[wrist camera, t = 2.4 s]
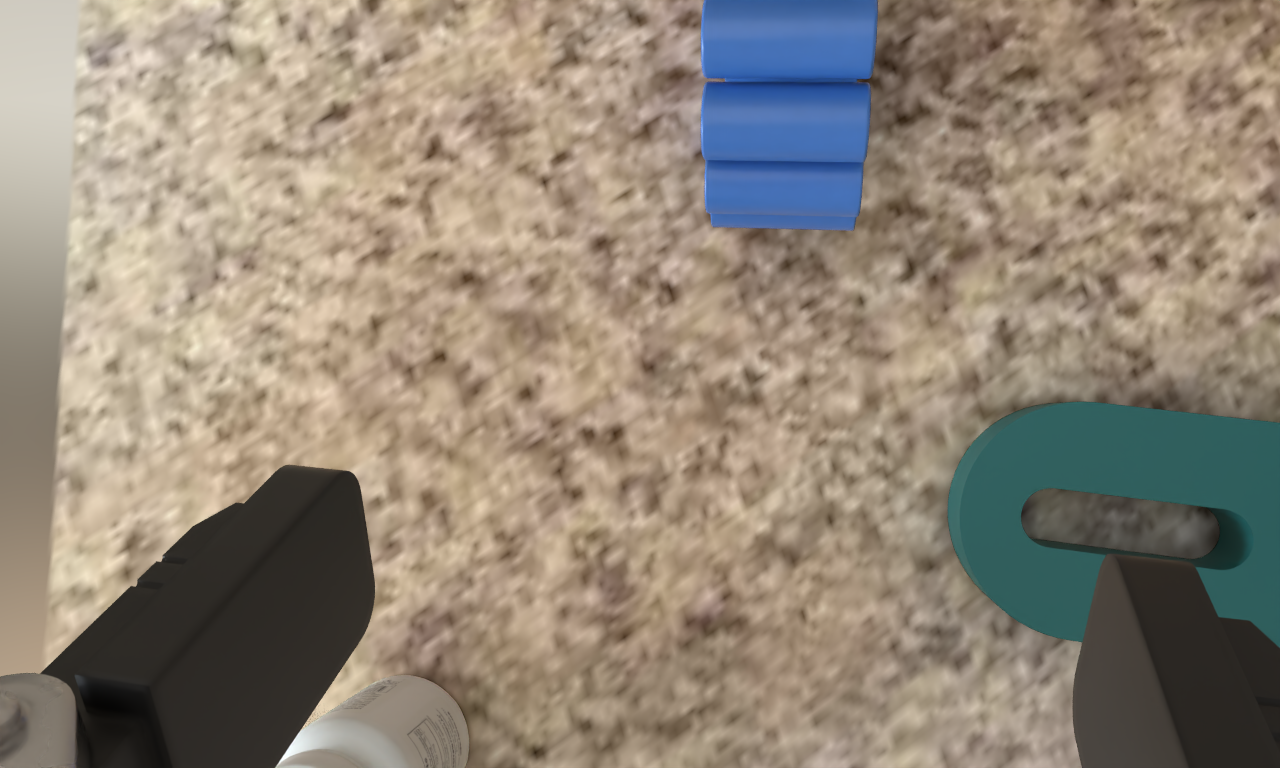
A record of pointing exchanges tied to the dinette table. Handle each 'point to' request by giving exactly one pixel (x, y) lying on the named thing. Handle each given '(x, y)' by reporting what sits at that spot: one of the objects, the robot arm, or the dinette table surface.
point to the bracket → (1128, 467)
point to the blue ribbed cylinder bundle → (786, 111)
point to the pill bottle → (386, 730)
